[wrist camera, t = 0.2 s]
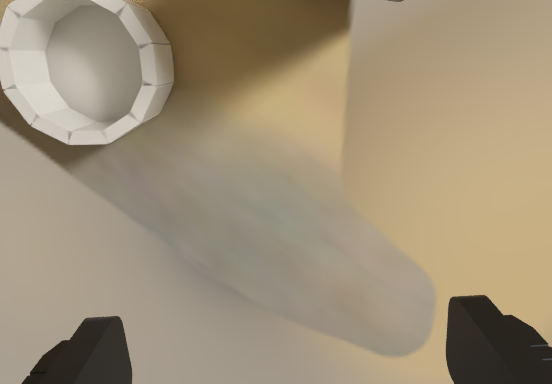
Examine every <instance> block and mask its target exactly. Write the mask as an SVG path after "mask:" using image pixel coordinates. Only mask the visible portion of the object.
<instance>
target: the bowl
mask: <svg viewBox="0 0 552 384" xmlns="http://www.w3.org/2000/svg"><path fill="white" fill-rule="evenodd" d="M8 6H9V7H10V8H9V7H7V8H6V11H5V14H4V17H3V20H2V23H1V26H0V81H1V85H2V89H6V90H4V91H3V92H4V93H5V94H6V95H7V97H8V98H9V99H10V101H11V102H12V103H13V104H14V106H15V107H16V108H17V110H18V111H19V112H20V113H21V115H22V116H23V117H24V119H25V120H26V121H27V122H28V124H29V125H31V124H32V125H31V127H33V128H35V129H37V130H39V131H41V132H43V133H46V134H48V135H50V136H52V137H54V138H56V139H58V140H60V141H62V142H64V143H66V144H69V145H90V144H109V143H111V142H113V141H115V140H117V139H119V138H121V137H123V136H124V135H126V134H128V133H130V132H132V131H134V130H135V129H137V128H138V127H140V126H141V125H143V124H144V123H146V122H148V121H149V120H151V119H152V118H154V117H155V116H157V115H158V114H159V113H160V112H161V110H162V108H163V106H164V105H165V103H166V101H167V99H168V97H169V95H170V92H171V89H172V86H173V84H174V83H173V81H174V60H173V54H172V50H171V45H170V42H169V41H168V39H167V37H166V35H165V33H164V31H163V29H162V28H161V26H160V25H159V24H158V22H157V21H156V20H155V19H154V17H153V16H152V14H151V13H150V12H149V11H148V10H147V9H145V8H143V7H141V6H140V5H138V4H136V3H135V2H133V1H131V0H15V1H13V2H12V3H11V4H9V5H8Z"/></svg>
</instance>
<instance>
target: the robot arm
mask: <svg viewBox="0 0 552 384" xmlns="http://www.w3.org/2000/svg"><path fill="white" fill-rule="evenodd" d="M446 340H447V341H446V360H447V366H448V369H449V373H450V375H451V378H452V380H453V381H454V384H552V347H549V346H548V343H547V342H546V341H545V340H544V339H543V338H542V337H541V336H540V335H539V333H538V332H537V331H536V330H535V329H534V328H533V327H531V326H529V325H528V324H526V323H524V322H522V321H521V320H519V319H518V318H516V317H514V316H513V315H503V314H502V313H501V312H500V311H499V310H498V308H497V307H496V306H495V305H494V304H493V303H492V302H491V300H490V299H489V298H488V297H487V296H485V295H475V296H459V297H452V298H451V299H450V301H449V307H448V323H447V339H446ZM22 384H132V367H131V362H130V357H129V352H128V348H127V342H126V337H125V333H124V328H123V323H122V320H121V319H120V317H118V316H111V317H94V318H86V319H85V320H84V321H83V322H82V323H81V325H80V326H79V327H78V329H77V330H76V332H75V333H74V334H73V336H72V337H71V339H70V340H64V341H61V342H60V343H59V344H57V345H56V346H55V347H54V348H52V349H51V350H50V351H48V352H47V353H46V354H44V355H43V356H42V358H41V359H40V360H39V362H38V363H37V364H36V365H35V367H34V368H33V369H32V371H31V372H30V376H27V377H26V379H25V380H24V381H23V382H22Z"/></svg>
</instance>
